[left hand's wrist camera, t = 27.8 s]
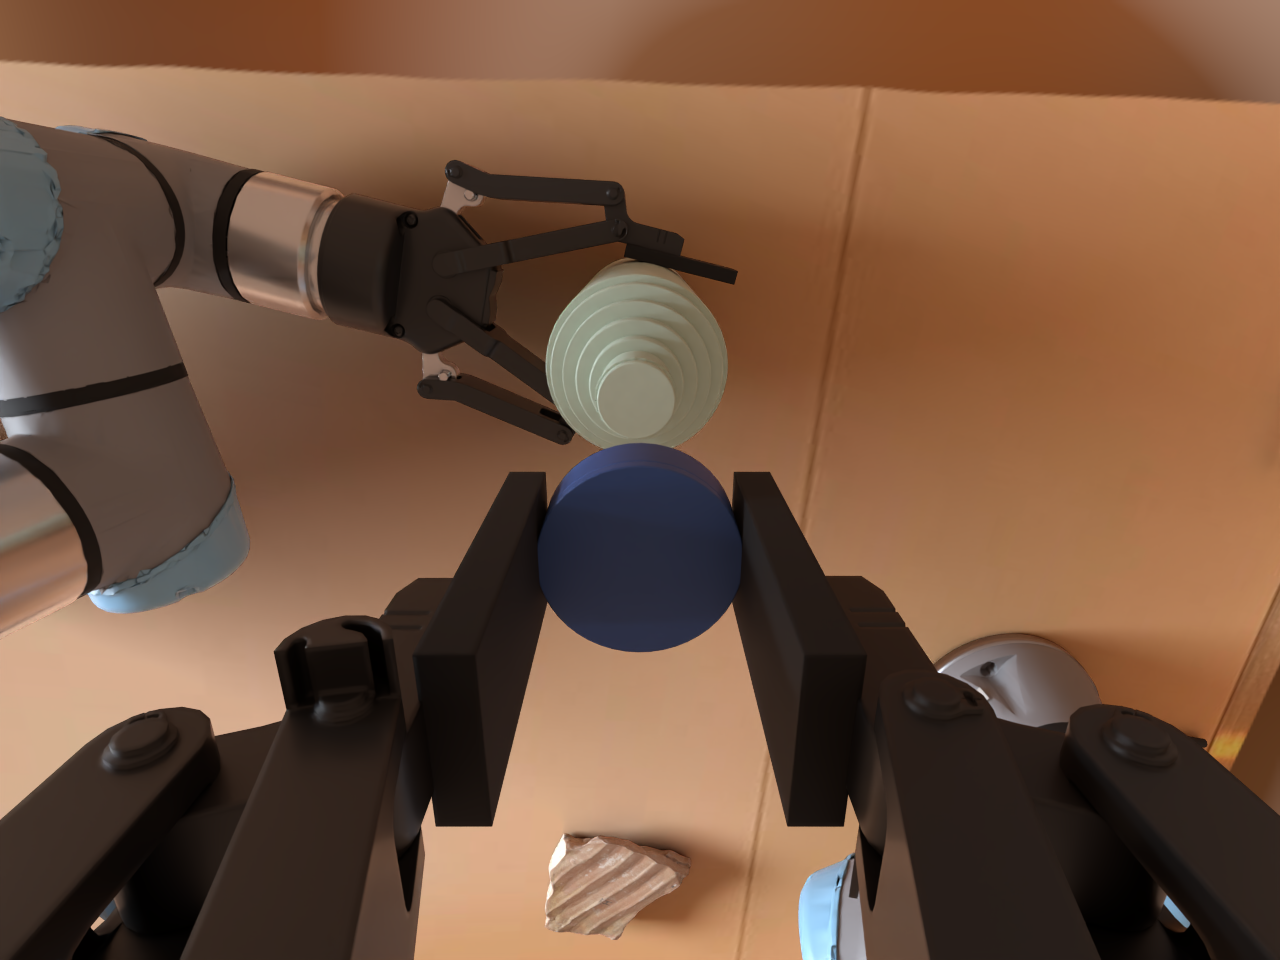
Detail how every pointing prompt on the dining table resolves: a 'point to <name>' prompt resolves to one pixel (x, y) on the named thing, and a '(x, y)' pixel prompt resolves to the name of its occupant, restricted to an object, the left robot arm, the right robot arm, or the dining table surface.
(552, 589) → the cap
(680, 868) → the stone
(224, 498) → the right robot arm
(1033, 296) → the dining table surface
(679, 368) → the bottle
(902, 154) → the dining table surface
